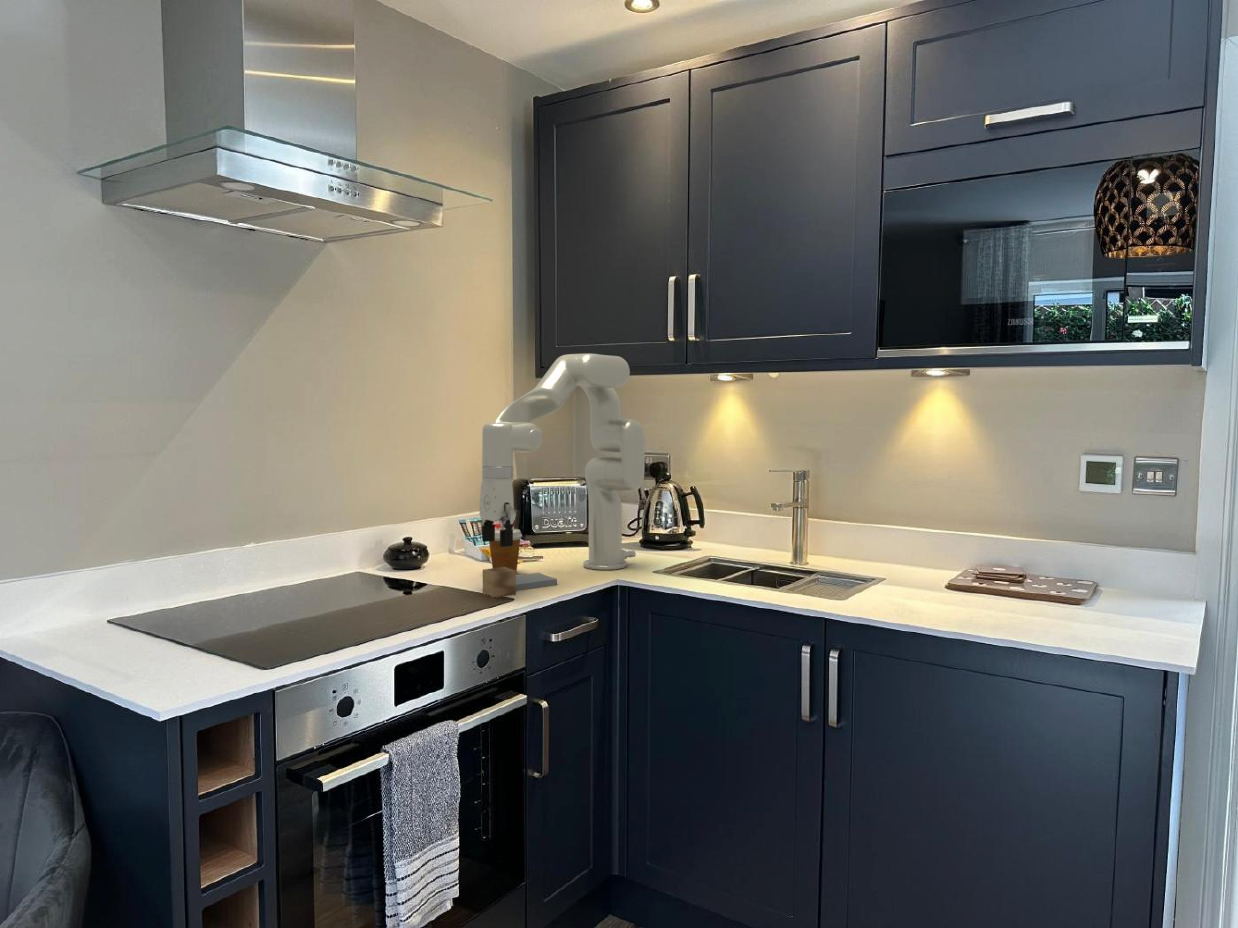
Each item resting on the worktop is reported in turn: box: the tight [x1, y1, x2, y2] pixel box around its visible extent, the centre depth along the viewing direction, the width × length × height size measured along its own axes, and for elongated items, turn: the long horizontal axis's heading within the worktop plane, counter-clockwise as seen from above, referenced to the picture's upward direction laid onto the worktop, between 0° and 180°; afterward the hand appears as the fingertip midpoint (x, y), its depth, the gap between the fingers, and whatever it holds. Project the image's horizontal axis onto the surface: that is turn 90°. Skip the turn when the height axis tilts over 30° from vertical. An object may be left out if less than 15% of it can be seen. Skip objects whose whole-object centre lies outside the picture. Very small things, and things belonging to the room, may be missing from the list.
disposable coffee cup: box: [488, 528, 523, 574], centre depth 229 cm, size 10×10×12 cm
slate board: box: [516, 572, 558, 591], centre depth 216 cm, size 12×10×2 cm
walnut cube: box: [482, 567, 517, 598], centre depth 205 cm, size 6×6×6 cm
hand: (497, 543), depth 204 cm, fingers open, 9 cm apart
